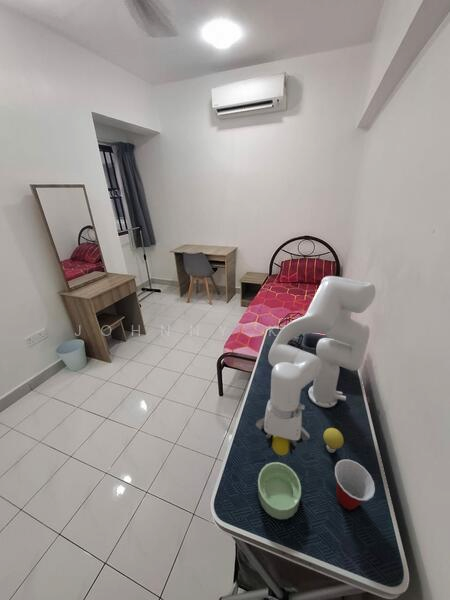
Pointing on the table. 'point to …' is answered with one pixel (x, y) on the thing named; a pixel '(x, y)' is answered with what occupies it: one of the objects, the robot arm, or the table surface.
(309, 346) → the storage bin
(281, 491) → the pale green bowl
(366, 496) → the plastic cup
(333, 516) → the table surface
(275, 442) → the lemon
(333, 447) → the light bulb
